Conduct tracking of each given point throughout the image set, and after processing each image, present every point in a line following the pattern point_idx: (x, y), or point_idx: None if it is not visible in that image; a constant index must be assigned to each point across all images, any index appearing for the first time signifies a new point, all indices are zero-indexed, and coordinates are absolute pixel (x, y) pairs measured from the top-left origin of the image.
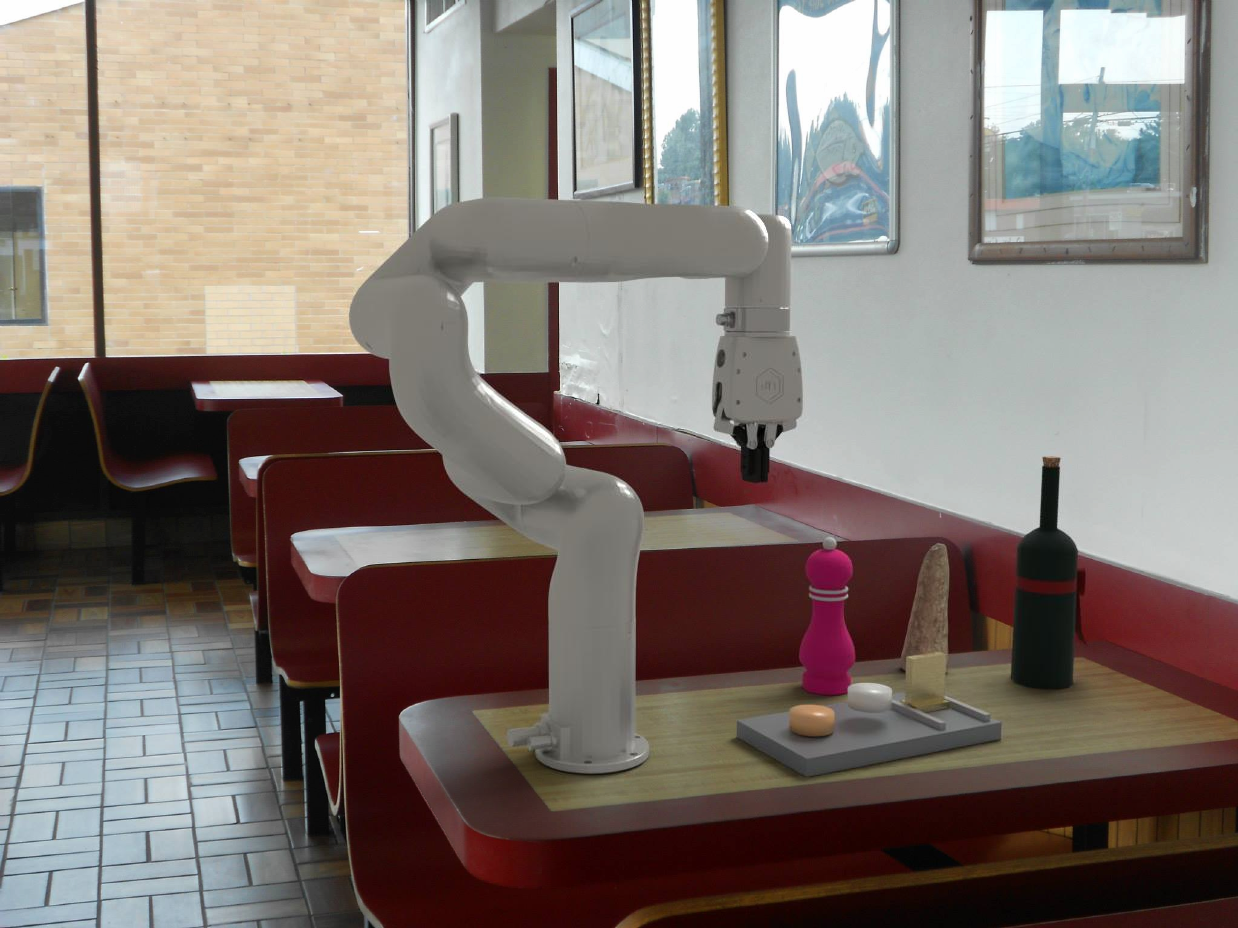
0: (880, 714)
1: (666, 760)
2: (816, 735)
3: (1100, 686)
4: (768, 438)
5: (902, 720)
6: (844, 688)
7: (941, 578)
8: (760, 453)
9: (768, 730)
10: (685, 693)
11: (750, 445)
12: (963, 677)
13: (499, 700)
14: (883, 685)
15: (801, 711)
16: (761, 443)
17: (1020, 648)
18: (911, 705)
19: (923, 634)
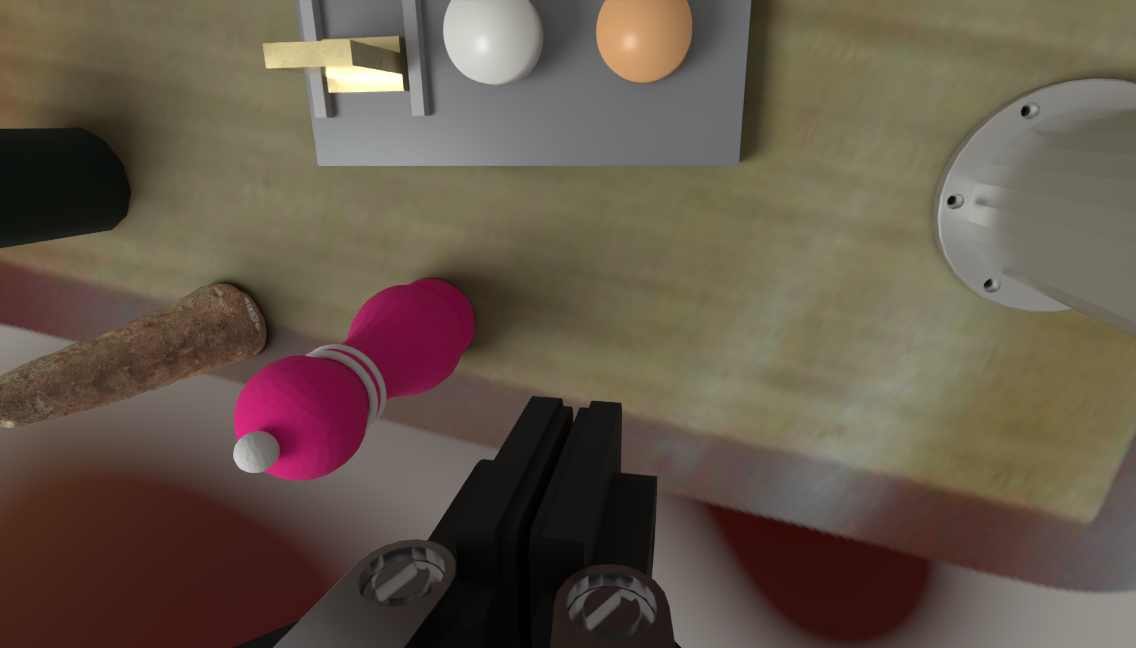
0: None
1: (942, 106)
2: None
3: (13, 107)
4: (399, 616)
5: None
6: (419, 280)
7: (53, 358)
8: (552, 509)
9: (721, 79)
10: (675, 413)
11: (638, 603)
12: (195, 256)
13: (1007, 543)
14: (447, 44)
15: (663, 40)
16: (477, 621)
17: (66, 190)
18: (400, 53)
19: (193, 327)
